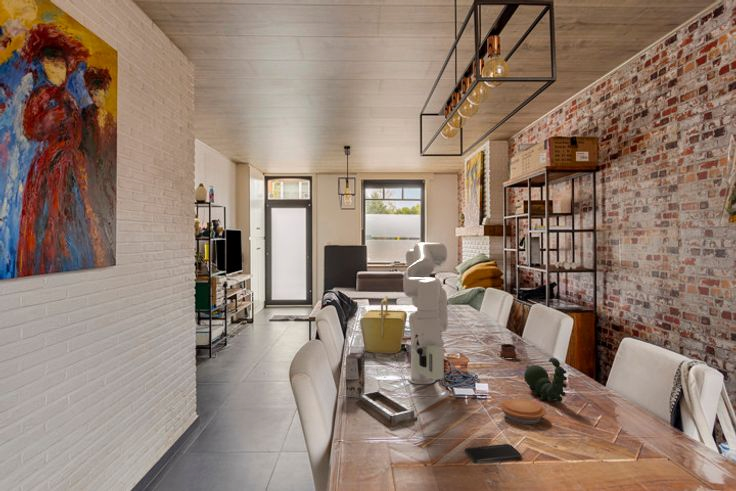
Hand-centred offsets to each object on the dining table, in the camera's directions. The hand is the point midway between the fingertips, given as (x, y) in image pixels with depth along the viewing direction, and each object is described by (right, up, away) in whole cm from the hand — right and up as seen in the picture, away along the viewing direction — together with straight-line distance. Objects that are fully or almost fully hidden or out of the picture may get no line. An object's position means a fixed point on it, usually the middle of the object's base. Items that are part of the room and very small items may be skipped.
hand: (428, 364), depth 150 cm
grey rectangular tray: (-15, -19, +6) cm, 25 cm away
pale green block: (0, -3, 0) cm, 3 cm away
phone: (+15, -20, -26) cm, 36 cm away
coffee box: (-27, -19, +25) cm, 41 cm away
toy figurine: (+50, -19, +21) cm, 57 cm away
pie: (+34, -19, 0) cm, 39 cm away
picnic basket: (-12, -19, +102) cm, 104 cm away
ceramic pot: (+55, -19, +79) cm, 98 cm away
